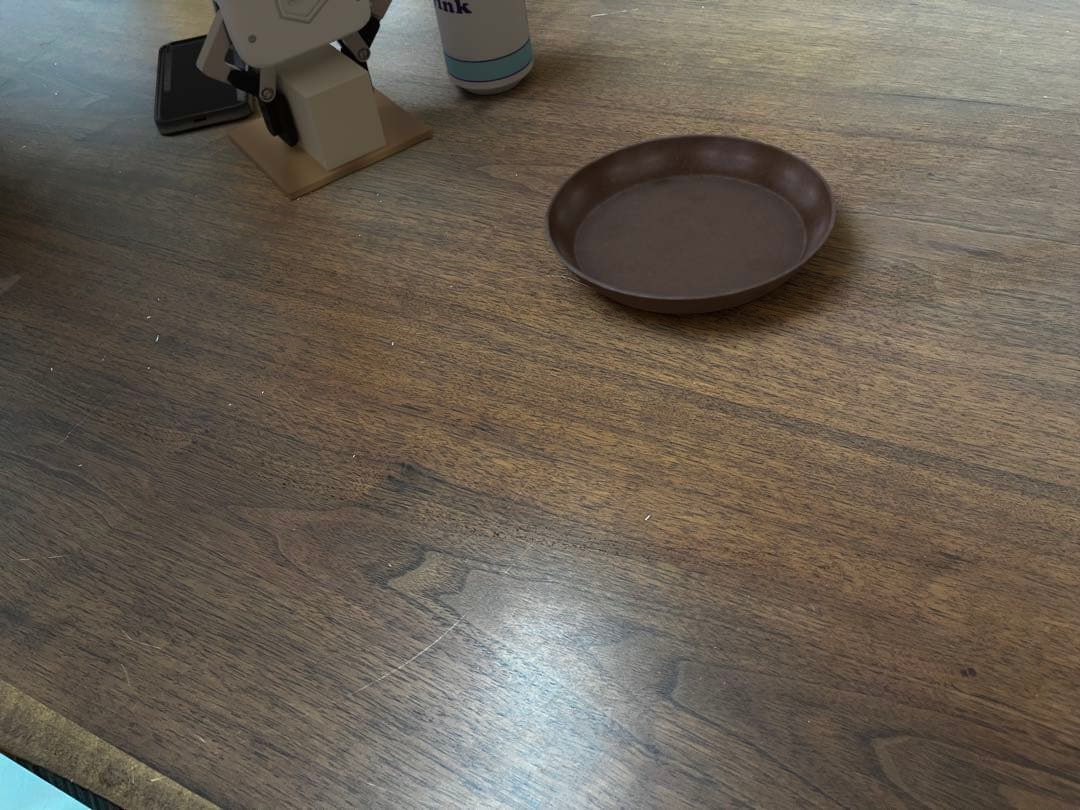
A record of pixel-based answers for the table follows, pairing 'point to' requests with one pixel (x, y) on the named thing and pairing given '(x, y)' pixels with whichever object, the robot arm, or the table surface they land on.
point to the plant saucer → (690, 222)
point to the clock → (331, 106)
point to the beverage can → (485, 43)
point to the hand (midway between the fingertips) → (324, 120)
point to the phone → (194, 90)
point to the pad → (302, 171)
